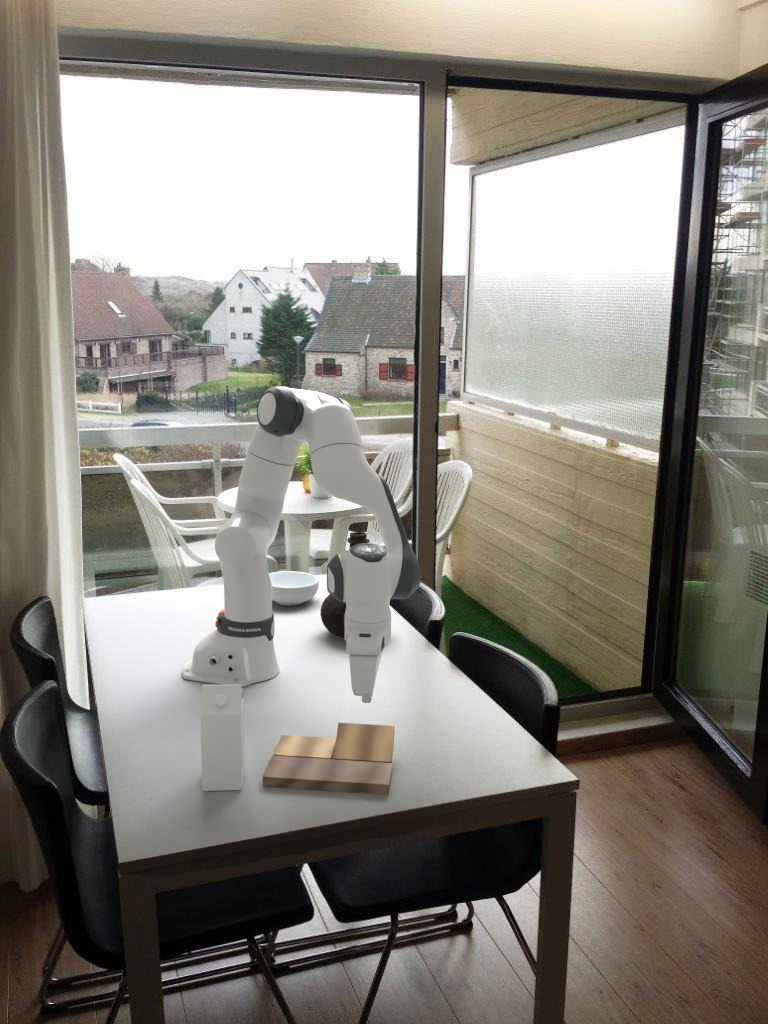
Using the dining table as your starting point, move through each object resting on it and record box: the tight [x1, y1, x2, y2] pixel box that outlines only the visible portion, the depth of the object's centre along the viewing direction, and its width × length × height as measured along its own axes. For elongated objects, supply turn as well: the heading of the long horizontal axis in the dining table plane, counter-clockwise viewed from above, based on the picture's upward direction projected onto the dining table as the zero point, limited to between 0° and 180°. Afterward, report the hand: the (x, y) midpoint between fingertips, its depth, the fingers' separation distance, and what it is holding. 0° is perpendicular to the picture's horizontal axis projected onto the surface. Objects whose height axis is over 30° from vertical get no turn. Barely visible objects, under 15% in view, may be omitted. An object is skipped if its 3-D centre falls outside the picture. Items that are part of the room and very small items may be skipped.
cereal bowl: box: [269, 570, 320, 607], centre depth 272 cm, size 17×17×7 cm
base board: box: [262, 755, 393, 795], centre depth 172 cm, size 23×8×2 cm, turn 85°
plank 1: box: [273, 734, 336, 760], centre depth 181 cm, size 11×8×2 cm
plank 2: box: [333, 722, 396, 764], centre depth 180 cm, size 11×8×2 cm
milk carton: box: [199, 684, 245, 792], centre depth 169 cm, size 7×7×19 cm
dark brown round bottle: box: [320, 531, 371, 640], centre depth 243 cm, size 18×18×28 cm
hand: (367, 698), depth 179 cm, fingers closed
